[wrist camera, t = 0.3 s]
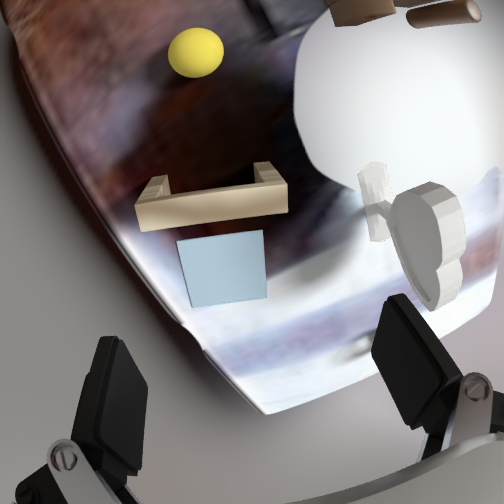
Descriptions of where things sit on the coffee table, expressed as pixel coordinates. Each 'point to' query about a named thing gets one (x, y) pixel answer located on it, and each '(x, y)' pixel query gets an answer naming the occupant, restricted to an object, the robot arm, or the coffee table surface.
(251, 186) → the bridge
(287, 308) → the coffee table surface
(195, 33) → the ball
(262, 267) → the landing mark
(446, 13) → the wooden toy
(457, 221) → the heart sculpture
